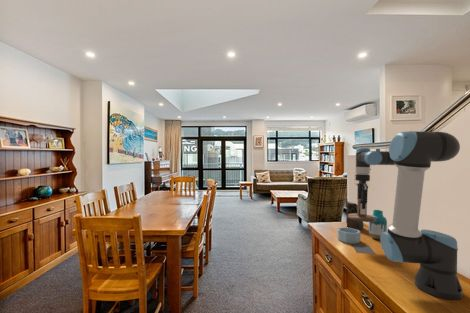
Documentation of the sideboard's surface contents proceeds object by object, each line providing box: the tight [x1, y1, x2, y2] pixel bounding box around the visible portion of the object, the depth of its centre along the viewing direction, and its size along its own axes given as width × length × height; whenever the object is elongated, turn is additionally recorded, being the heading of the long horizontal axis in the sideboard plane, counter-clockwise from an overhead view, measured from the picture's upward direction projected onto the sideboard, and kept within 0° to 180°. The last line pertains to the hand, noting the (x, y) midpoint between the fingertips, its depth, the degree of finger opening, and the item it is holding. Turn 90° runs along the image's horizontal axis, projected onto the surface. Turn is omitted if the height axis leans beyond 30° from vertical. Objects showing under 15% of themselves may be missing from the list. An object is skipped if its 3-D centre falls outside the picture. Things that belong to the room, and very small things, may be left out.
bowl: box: [336, 226, 361, 245], centre depth 157 cm, size 13×13×7 cm
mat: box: [351, 243, 377, 255], centre depth 142 cm, size 14×10×1 cm
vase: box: [368, 209, 388, 241], centre depth 162 cm, size 11×11×19 cm
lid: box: [348, 199, 376, 223], centre depth 144 cm, size 15×15×11 cm
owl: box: [345, 201, 364, 232], centre depth 187 cm, size 13×13×20 cm
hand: (361, 213), depth 144 cm, fingers closed on lid, 4 cm apart
